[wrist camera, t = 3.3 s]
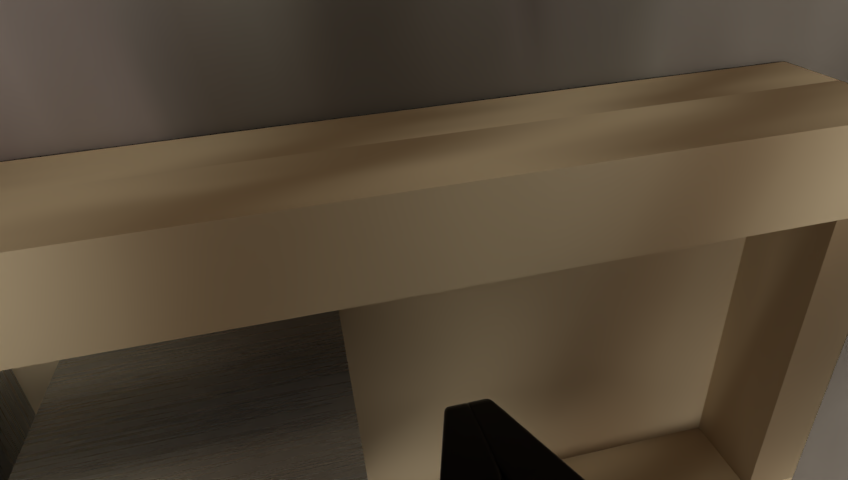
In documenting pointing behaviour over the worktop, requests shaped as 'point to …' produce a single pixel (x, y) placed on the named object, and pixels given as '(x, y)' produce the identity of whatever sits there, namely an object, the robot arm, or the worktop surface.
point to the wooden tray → (483, 264)
